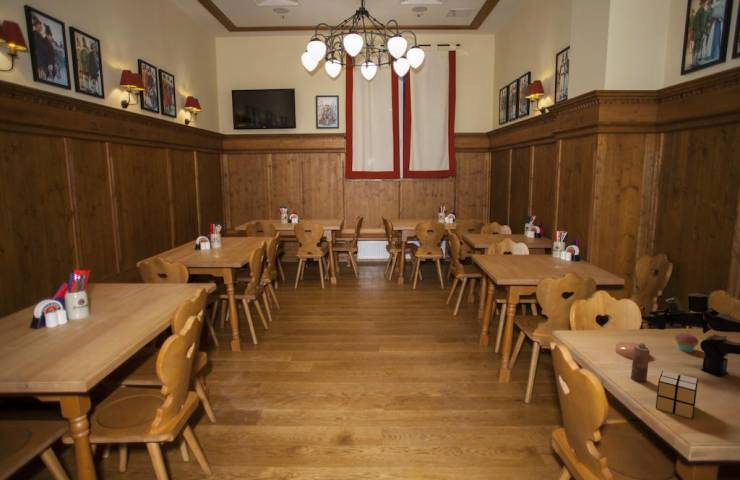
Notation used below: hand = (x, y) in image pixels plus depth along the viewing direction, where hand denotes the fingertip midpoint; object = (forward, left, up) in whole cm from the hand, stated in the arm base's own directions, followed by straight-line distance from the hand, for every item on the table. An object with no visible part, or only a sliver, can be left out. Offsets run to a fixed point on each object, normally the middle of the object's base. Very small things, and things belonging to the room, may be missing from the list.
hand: (645, 315), depth 186 cm
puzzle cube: (-35, +33, -17) cm, 51 cm away
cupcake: (-7, -19, -17) cm, 26 cm away
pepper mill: (-17, +26, -16) cm, 35 cm away
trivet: (0, +6, -17) cm, 18 cm away
